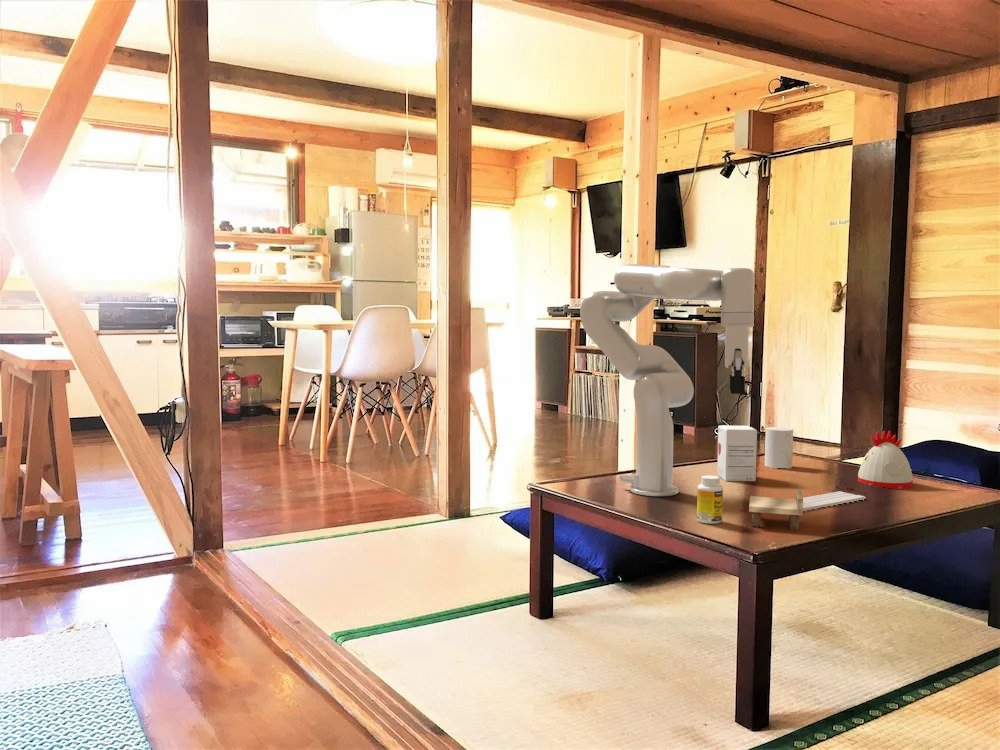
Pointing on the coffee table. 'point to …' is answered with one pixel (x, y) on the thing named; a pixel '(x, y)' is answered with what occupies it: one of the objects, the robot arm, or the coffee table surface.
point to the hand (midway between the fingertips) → (737, 392)
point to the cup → (778, 447)
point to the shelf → (777, 508)
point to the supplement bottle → (710, 500)
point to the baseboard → (830, 499)
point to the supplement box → (737, 453)
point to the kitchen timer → (886, 464)
